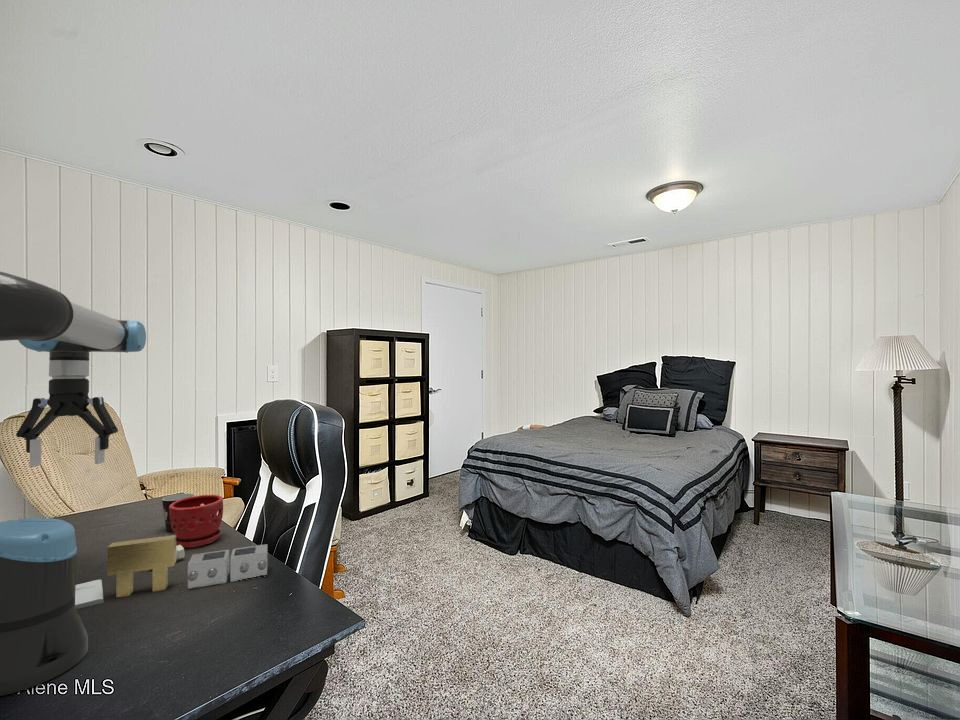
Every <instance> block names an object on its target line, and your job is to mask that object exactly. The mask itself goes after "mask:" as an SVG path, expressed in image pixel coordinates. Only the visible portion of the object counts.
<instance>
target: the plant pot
mask: <svg viewBox="0 0 960 720" xmlns="http://www.w3.org/2000/svg"><path fill="white" fill-rule="evenodd" d="M193 506H194V507H193ZM223 515H224V500H223V496H221V495H219V494H201V495H195V496H193V497H188V498H184V499H181V500H178V501H176V502H174V503H172V504H171V505H170V506H169V516H170V522H171V527H172V530H173V532H174V533H173V535H176V546H178V545H181V546H182V547H183V548H184V549H185V548H189V549H190V548H197V547H202V546H205V545H206V544H207V545H210V544H211V543H214V542H215V541H216V540H218V539H219V538H220V536H221V535H222V530H221V529H220V526H221V524H222V520H223Z"/></svg>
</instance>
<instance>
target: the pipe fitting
mask: <svg viewBox="0 0 960 720" xmlns="http://www.w3.org/2000/svg"><path fill="white" fill-rule="evenodd" d="M185 554H186V553H185V547H182V546H181V545H178V546H177V545H176V562H178V561H181V560H183V559H184V558H185ZM146 571H147V572H149V571H153V569H151V570H146Z"/></svg>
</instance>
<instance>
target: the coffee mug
mask: <svg viewBox="0 0 960 720" xmlns="http://www.w3.org/2000/svg"><path fill="white" fill-rule="evenodd" d="M193 496H196V494H195V493H190V492H189V493H178V494H170V495H167V496H164V497H162V499H161V501H162V511H163V516H164V517H163V518H164V524H165V532H166V533H167V534H174V532H173V530H172V527H171V522H170V516H169V506H170V505H171V504H172V503H174V502H176V501H178V500H181V499H184V498H188V497H193ZM193 507H194V506H193Z"/></svg>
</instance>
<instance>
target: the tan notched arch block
mask: <svg viewBox="0 0 960 720" xmlns="http://www.w3.org/2000/svg"><path fill="white" fill-rule="evenodd" d="M176 546H177V545H176V535H175V534H172V535H165V536H157V537H156V536H155V537H148V538H140V539H133V540H132V539H131V540H124V541H116V542H111V543H110V544H109V545H108V546H107V552H106V553H107V557H106V558H107V561H106V562H107V564H106V565H107V568H106V573H107V574H106V576H107V577H109V576H115V575H116V582H115V585H116V587H115V589H116V590H115V591H116V595H115V597H116V599H117V598H122V597H128V596H131V594H132V593H133V592H134V573H136V572H137V573H138V572H143V571H144V572H145V571H147V570H149V571H152V592H159V591H165V590H166V589H167V588H168V585H169V579H168V578H169V568H172V567H174V566H175V564H176V562H177V561H176ZM151 569H152V570H151Z"/></svg>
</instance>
